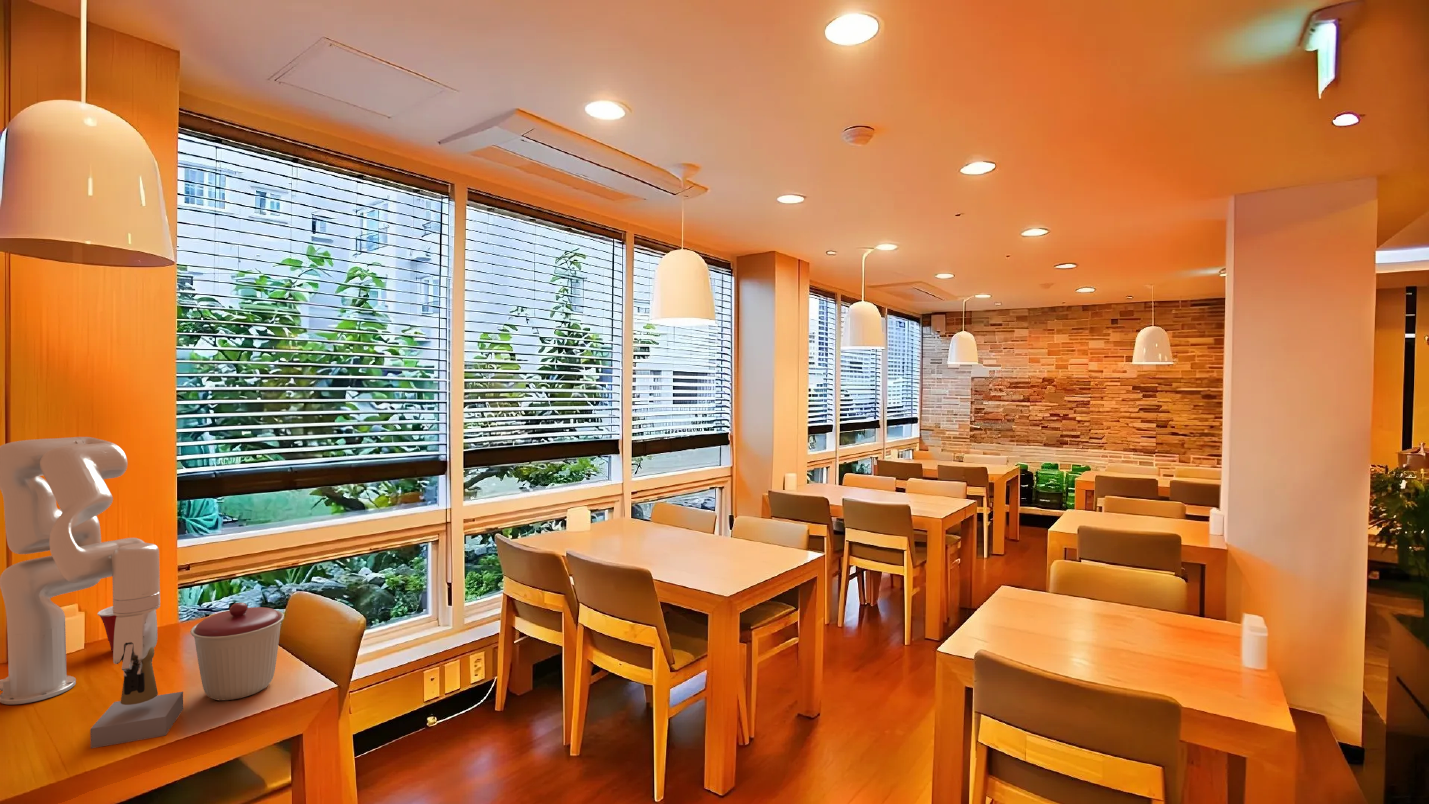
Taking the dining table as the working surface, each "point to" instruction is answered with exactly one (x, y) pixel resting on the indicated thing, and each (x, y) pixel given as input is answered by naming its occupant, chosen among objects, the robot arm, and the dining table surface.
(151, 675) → the cork
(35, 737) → the dining table surface
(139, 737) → the block
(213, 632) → the canister
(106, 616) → the plastic cup
